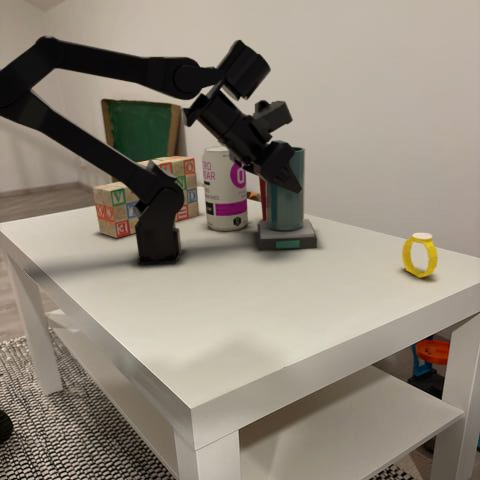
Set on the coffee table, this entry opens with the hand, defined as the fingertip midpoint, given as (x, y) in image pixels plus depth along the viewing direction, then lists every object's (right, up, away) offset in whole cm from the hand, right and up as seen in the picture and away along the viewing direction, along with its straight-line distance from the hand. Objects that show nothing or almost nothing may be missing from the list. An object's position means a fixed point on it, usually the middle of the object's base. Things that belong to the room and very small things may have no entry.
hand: (292, 187), depth 88 cm
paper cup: (-2, -3, +15) cm, 15 cm away
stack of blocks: (-28, -3, +18) cm, 33 cm away
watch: (+17, -17, -14) cm, 27 cm away
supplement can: (-12, -4, +14) cm, 19 cm away
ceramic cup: (-1, -6, +3) cm, 7 cm away
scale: (-1, -9, +4) cm, 9 cm away
